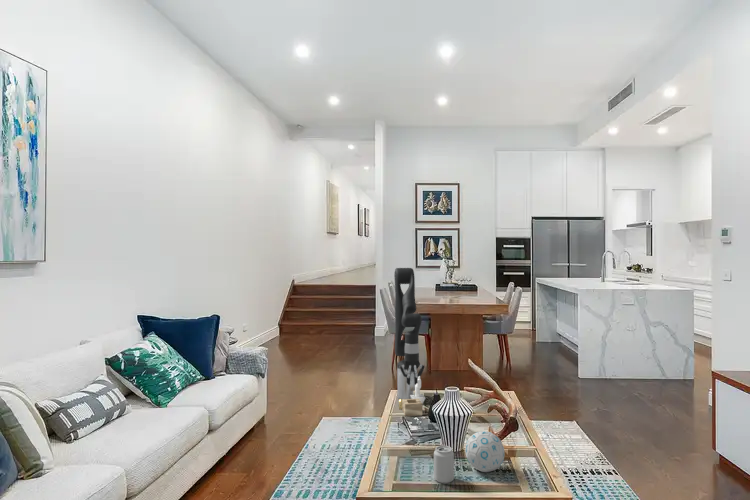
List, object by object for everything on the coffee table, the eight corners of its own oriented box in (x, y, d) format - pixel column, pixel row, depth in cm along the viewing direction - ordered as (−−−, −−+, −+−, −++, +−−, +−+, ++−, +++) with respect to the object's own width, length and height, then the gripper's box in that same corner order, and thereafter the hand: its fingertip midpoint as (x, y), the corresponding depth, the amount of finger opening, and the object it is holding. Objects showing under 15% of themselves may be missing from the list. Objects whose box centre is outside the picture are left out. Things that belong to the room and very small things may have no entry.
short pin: (398, 408, 281) (398, 398, 281) (404, 407, 282) (404, 398, 282) (399, 409, 278) (399, 400, 278) (404, 409, 279) (404, 400, 279)
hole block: (402, 410, 277) (402, 399, 277) (419, 409, 278) (418, 398, 278) (405, 416, 269) (405, 404, 268) (422, 415, 270) (422, 403, 269)
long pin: (408, 389, 275) (408, 370, 274) (414, 389, 275) (414, 370, 275) (409, 391, 272) (409, 372, 271) (415, 390, 272) (415, 371, 272)
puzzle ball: (457, 469, 206) (457, 431, 205) (481, 458, 215) (481, 422, 215) (488, 482, 194) (488, 442, 194) (512, 471, 204) (512, 433, 203)
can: (440, 473, 202) (440, 442, 202) (457, 479, 197) (457, 447, 197) (430, 480, 196) (429, 448, 196) (447, 486, 191) (447, 454, 191)
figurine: (422, 400, 295) (421, 373, 295) (426, 405, 286) (425, 378, 286) (409, 400, 294) (409, 374, 294) (413, 405, 285) (412, 378, 285)
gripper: (423, 349, 277) (423, 382, 278) (397, 350, 276) (397, 383, 276) (426, 352, 270) (426, 385, 270) (399, 353, 268) (399, 386, 269)
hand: (412, 384), depth 273 cm, fingers closed on long pin, 3 cm apart
